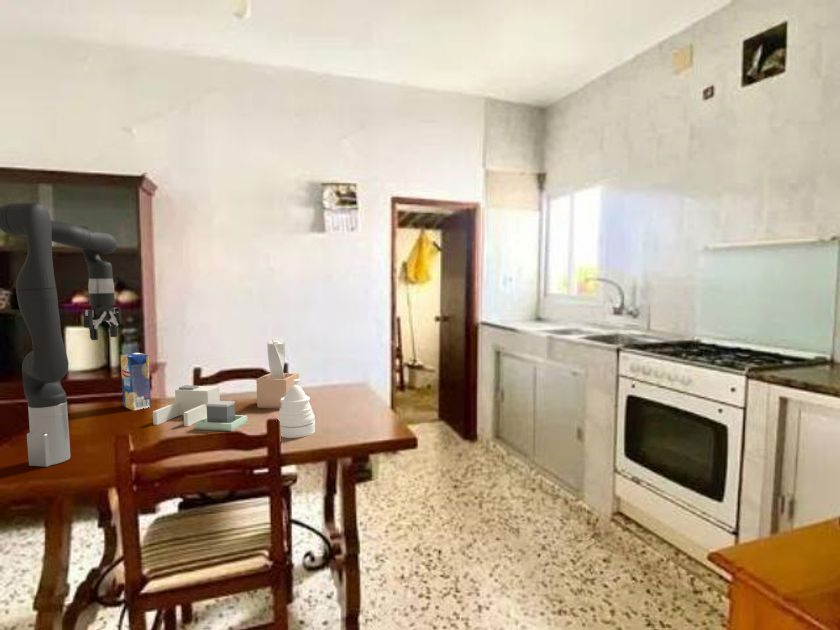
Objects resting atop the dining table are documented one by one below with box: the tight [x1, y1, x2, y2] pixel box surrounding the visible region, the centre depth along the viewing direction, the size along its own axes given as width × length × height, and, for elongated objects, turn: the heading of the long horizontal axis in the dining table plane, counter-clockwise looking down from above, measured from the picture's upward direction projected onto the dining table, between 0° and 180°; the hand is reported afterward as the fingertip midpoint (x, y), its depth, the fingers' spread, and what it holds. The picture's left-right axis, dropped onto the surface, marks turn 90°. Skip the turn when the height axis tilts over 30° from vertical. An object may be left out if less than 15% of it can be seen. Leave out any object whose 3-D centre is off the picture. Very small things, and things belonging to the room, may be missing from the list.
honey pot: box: [276, 378, 316, 439], centre depth 176 cm, size 13×13×18 cm
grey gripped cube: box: [206, 400, 236, 423], centre depth 184 cm, size 5×8×8 cm, turn 79°
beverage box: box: [120, 352, 152, 411], centre depth 212 cm, size 7×11×22 cm, turn 49°
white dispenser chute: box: [152, 385, 221, 427], centre depth 195 cm, size 21×14×11 cm, turn 170°
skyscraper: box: [267, 337, 289, 379], centre depth 214 cm, size 8×8×28 cm
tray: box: [194, 414, 248, 432], centre depth 184 cm, size 11×14×2 cm
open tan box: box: [255, 372, 300, 409], centre depth 214 cm, size 13×13×12 cm
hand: (104, 338), depth 176 cm, fingers open, 8 cm apart
